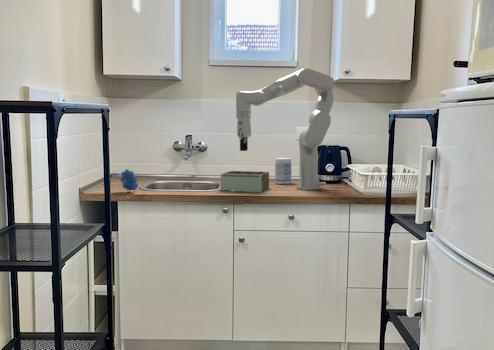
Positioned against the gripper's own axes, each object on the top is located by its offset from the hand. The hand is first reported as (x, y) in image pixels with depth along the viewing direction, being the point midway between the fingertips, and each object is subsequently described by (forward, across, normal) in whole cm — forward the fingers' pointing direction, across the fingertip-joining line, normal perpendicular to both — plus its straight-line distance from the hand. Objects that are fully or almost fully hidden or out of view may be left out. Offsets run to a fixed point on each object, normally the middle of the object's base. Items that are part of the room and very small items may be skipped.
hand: (243, 150), depth 247 cm
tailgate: (+21, -6, 0) cm, 22 cm away
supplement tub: (+21, +32, -14) cm, 41 cm away
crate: (+21, +2, 0) cm, 21 cm away
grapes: (+21, -23, +56) cm, 64 cm away
